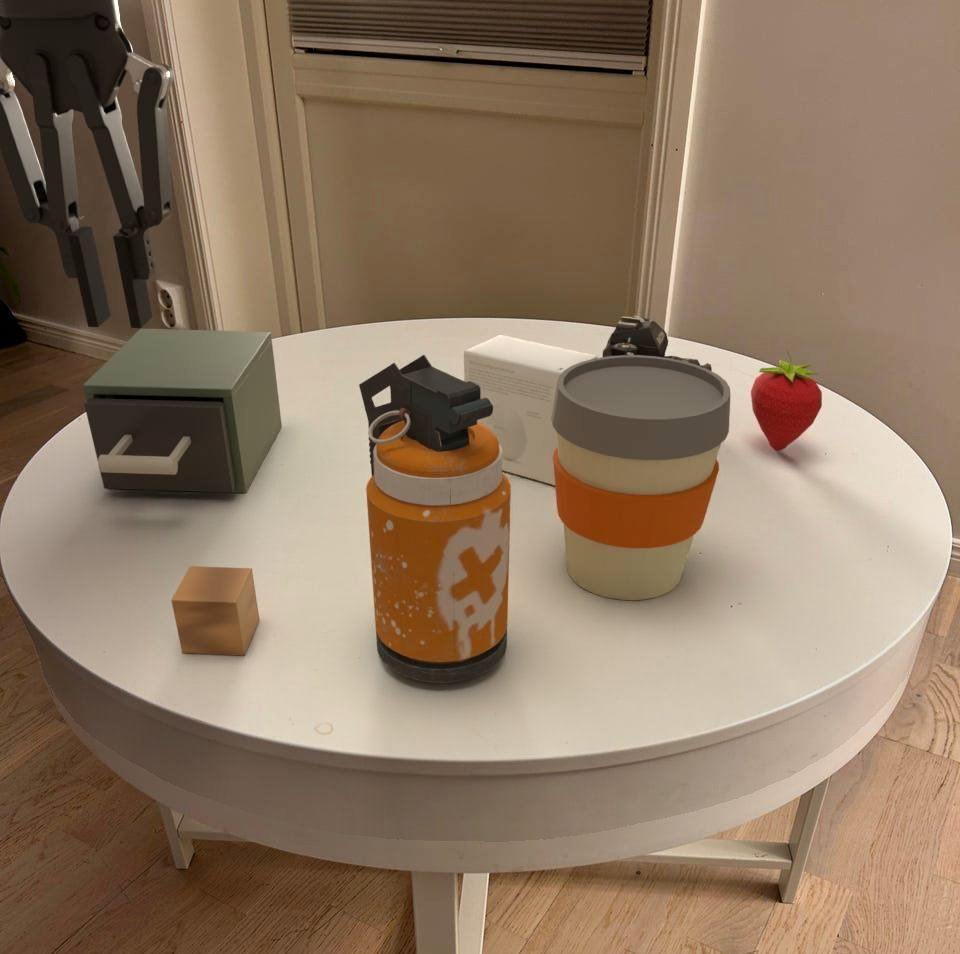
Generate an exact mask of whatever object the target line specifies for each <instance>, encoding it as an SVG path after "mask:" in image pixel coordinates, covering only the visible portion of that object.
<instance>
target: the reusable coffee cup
mask: <svg viewBox="0 0 960 954" xmlns="http://www.w3.org/2000/svg"><path fill="white" fill-rule="evenodd" d="M730 414H731V387H730V385H729V384H728V382H727V381H726V380H725V379H724V378H723V377H721V376H720V375H719V374H718V373H716V372H714V371H710V370H708V369H706V368H703V367H701V366H698V365H695V364H692V363H688V362H685V361H680V360H675V359H670V358H663V357H656V356H641V355H621V356H608V357H603V356H602V357H597V358H595V359H591V360H587V361H583V362H580V363H578V364H575V365H573V366H571V367H569V368H567V369H566V370H564V371H563V372H562V373H561V375H560V376H559V378H558V381H557V386H556V393H555V399H554V405H553V411H552V417H551V420H552V425H553V427H554V429H555V430H556V432H557V445H558V447H557V448H556V449H555V451H554V455H553V465H554V477H555V485H554V487H555V500H556V501H555V503H556V511H557V515H558V518H559V519H560V521H561V523H562V524H563V533H564V545H565V546H564V547H565V559H566V569H567V573H568V575H569V576H570V578H571V580H572V581H573V582H575V584H577V586H579V587H581V588H582V589H584V590H585V591H587V592H590V593H592V594H595V595H597V596H601V597H603V598H608V599H613V600H621V601H640V600H649V599H653V598H657V597H661V596H663V595H666V594H668V593H669V592H671V591H672V590H674V589H676V587H677V586H678V585H679V583H680V582H681V578H682V576H683V573H684V568H685V566H686V562H687V559H688V556H689V553H690V549H691V546H692V543H693V540H694V536H695V535H696V534H697V533H698V532H699V530H701V528H702V526H703V525H704V522H705V518H706V515H707V511H708V508H709V505H710V502H711V498H712V495H713V492H714V488H715V485H716V481H717V478H718V476H719V471H720V465H719V461H718V459H717V458H718V455H719V451H720V448H721V444H722V443H723V442H725V440H727V437H728V435H729V432H730Z"/></svg>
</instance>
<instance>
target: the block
mask: <svg viewBox="0 0 960 954" xmlns="http://www.w3.org/2000/svg"><path fill="white" fill-rule="evenodd" d="M170 602H171V606H172V611H173V615H174V621H175V625H176V630H177V635H178V640H179V644H180V649H181V653H182V654H197V655H222V656H223V655H224V656H225V655H226V656H245V655H246V653H247V651H248V648H249V646H250V644H251V641H252V639H253V637H254V634H255V631H256V630H257V627H258V624H259V623H260V620H261V619H260V613H259V605H258V600H257V593H256V587H255V579H254V573H253V568H252V567H230V566H229V567H226V566H198V565H197V566H196V565H195V566H194V565H191V566H189V567H188V570H187V571H186V573H185V575H184V576H183V578H182V580H181V582H180V584H179V586H178V587H177V589H176V591H175V593H174V594H173V596H172V598H171V600H170Z"/></svg>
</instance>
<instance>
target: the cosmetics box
mask: <svg viewBox="0 0 960 954" xmlns="http://www.w3.org/2000/svg"><path fill="white" fill-rule="evenodd" d="M595 358H598V355H595V354H591V353H585V352H581V351H578V350H577V351H576V350H572V349H567V348H564V347H563V348H562V347H558V346H553V345H549V344H545V343H544V344H543V343H539V342H536V341H530V340H525V339H520V338H518V337H517V338H516V337H512V336H508V335H503V334H498V335H496V336H494V337H492V338H489V339H488V340H486V341H483V342H481V343H478V344H477V345H474V346H473V347H470V348H468V349H466V350H464V352H463V375H464V376H463V377H464V378H463V379H464V380H463V381H465V382H468V381H471V382H473V383H475V384H477V385H479V387H480V389H481V399H482V398H488V399H489V400H490V402H491V404H492V405H493V412H492V415H491V416H489V417H486V418H483V419H480V420H477V422H479V423H481V424H483V425H485V426H486V427H488V428H489V429H490V430H492V432H493V433H494V434H495V435H496V437H497V439H498V442H499V443H500V445H501V447H502V471H504V472H508V473H510V474H514V475H517V476H521V477H525V478H528V479H532V480H536V481H539V482H543V483H546V484H549V485H553V486H555V477H554V465H553V455H554V451H555V449H556V448H557V447H558V445H557V432H556V430H555V429H554V427H553V425H552V420H551V417H552V411H553V405H554V399H555V393H556V386H557V381H558V378H559V376H560V375H561V373H562V372H563V371H564V370H566V369H567V368H569V367H571V366H573V365H575V364H578V363H580V362H583V361H587V360H591V359H595Z"/></svg>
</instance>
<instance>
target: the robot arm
mask: <svg viewBox="0 0 960 954" xmlns="http://www.w3.org/2000/svg"><path fill="white" fill-rule="evenodd" d="M120 19H121V18H120V10H119V3H118V0H0V152H1V156H2V158H3V161H4V164H5V167H6V169H7V170H6V171H7V172H8V175H9V179H10V182H11V184H12V188H13V190H14V193H15V196H16V199H17V201H18V204H19V207H20V211H21V213H22V216H23V218H24V219H25V221H27V222H28V223H30V224H34V225H35V224H39V225H41V226H42V225H43V226H45V227H47V228H49V229H50V230H52V232H53V233H54V235H55V238H56V242H57V246H58V250H59V255H60V259H61V264H62V268H63V271H64V273H65V275H66V276H67V278H68V279H77V283H78V289H79V293H80V297H81V300H82V301H81V302H82V305H83V310H84V314H85V319H86V323H87V327H88V328H99V327H100V326H102V324H104V323H105V322H106V321H107V320H109V318H111V317H112V312H111V308H110V303H109V300H108V299H109V298H108V295H107V289H106V285H105V281H104V275H103V270H102V266H101V261H100V256H99V252H98V247H97V241H96V237H95V232H94V228H93V226H90V225H89V226H88V225H87V226H86V225H82V226H80V225H79V224H81V223H82V222H83V221H84V219H85V215H81V211H80V203H79V192H78V191H79V190H78V181H77V170H76V160H75V151H74V150H75V149H74V148H75V147H74V138H73V127H72V124H73V122H74V111H75V112H79V113H82V114H83V117H84V121H85V124H86V126H87V128H88V129H89V130H90V131H91V133H92V137H93V140H94V142H95V143H94V144H95V146H96V149H97V152H98V155H99V159H100V162H101V165H102V169H103V171H104V175H105V178H106V181H107V184H108V187H109V190H110V194H111V197H112V200H113V204H114V206H115V210H116V213H117V215H118V219H119V222H120V225H121V227H120V228H118V232H117V233H115V234H114V235H113V236H112V238H113V243H114V248H115V252H116V253H115V254H116V259H117V263H118V268H119V274H120V279H121V284H122V289H123V294H124V298H125V299H124V300H125V304H126V309H127V313H128V319H129V324H130V328H131V329H143V328H144V326H145V325H147V323H149V321H151V319H152V318H153V316H154V315H153V311H152V305H151V300H150V293H149V288H148V285H147V280H149V279H151V278H152V277H153V276H155V273H156V268H157V266H156V261H155V255H154V250H153V249H154V248H153V244H152V238H151V228H153V227H158V226H159V225H161V224H162V223H164V222H165V221H166V220H167V219H169V218H170V217H171V216H172V214H173V196H172V195H173V194H172V178H171V164H170V163H171V162H170V161H171V160H170V145H169V133H168V131H169V130H168V129H169V128H168V115H167V114H168V113H167V111H168V110H167V102H168V98H169V94H170V91H171V88H172V84H173V80H174V72H173V70H172V68H171V67H170V66H169V64H166V63H158V64H156V63H154V62H152V61H150V60H148V59H146V58H144V57H142V56H141V55H140V54H137V53H135V52H134V51H133V46H132V44H131V42H130V40H129V39H128V37H127V36H126V34H125V32H124V30H123V28H122V25H121V20H120ZM127 73H128V74H129V77H130V80H131V88H132V91H133V93H135V95H137V101H136V118H137V131H138V132H137V133H138V143H139V145H138V146H139V156H140V159H139V160H140V171H141V183H142V185H140V181H139V178H138V174H137V171H136V168H135V164H134V160H133V157H132V155H131V151H130V147H129V144H128V141H127V137H126V134H125V131H124V127H123V124H122V123H123V122H122V121H123V115H122V110H121V108H120V104H119V101H118V97H117V95H118V93H119V92H120V91H119V90H120V88H121V86H122V85H123V82H124V79H125V77H126V75H127ZM13 75H14V77H15V78H16V79H17V80H18V82H19V83H20V84H21V85H22V86H23V87H24V88H25V89H26V91H27V93H29V94H30V95H31V96H32V102H33V111H34V120H35V124H36V126H37V127H38V128H39V137H40V145H41V155H42V164H43V171H42V168H41V164H40V161H39V158H38V155H37V152H36V149H35V146H34V143H33V140H32V137H31V134H30V130H29V127H28V124H27V122H26V119H25V116H24V113H23V109H22V106H21V104H20V102H19V98H18V97H17V95H16V92H15V91H14V90H15V84H16V83H15V79H14V77H13ZM43 172H44V174H43ZM141 186H142V187H141Z"/></svg>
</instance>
